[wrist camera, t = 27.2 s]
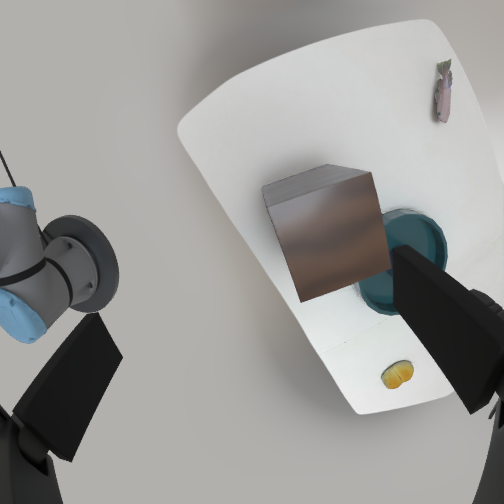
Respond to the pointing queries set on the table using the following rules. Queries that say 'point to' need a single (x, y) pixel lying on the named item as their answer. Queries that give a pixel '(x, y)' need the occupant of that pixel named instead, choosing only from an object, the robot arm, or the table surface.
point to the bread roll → (397, 374)
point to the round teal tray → (403, 233)
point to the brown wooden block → (328, 228)
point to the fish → (444, 91)
